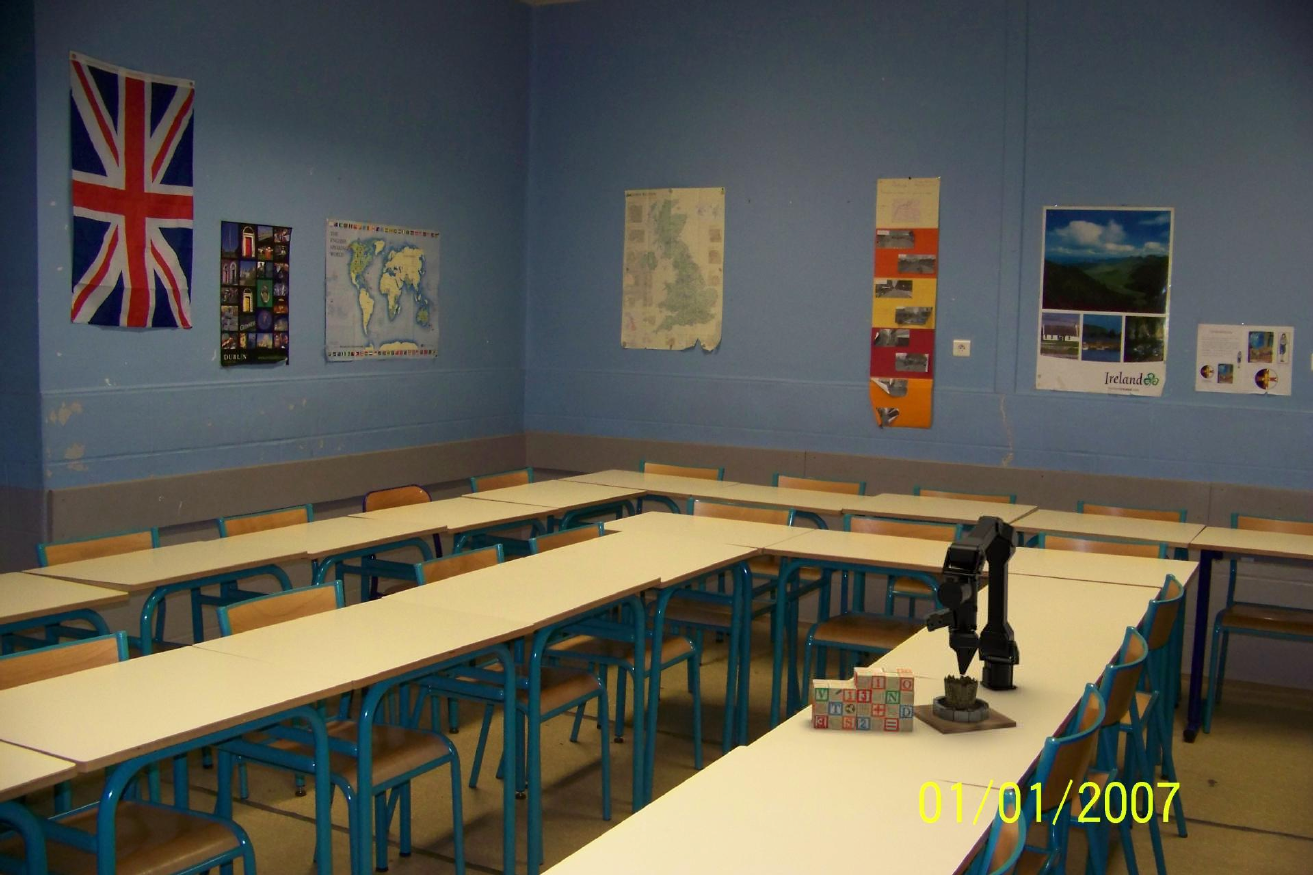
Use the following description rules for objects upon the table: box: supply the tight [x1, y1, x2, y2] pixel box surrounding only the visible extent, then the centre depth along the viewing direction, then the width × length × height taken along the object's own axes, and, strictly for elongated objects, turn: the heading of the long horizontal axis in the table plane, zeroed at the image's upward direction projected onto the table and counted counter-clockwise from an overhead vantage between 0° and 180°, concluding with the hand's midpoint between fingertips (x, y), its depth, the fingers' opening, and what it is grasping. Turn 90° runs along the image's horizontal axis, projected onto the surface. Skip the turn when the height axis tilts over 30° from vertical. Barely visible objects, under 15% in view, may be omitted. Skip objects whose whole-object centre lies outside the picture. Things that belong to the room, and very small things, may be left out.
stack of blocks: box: [811, 666, 915, 733], centre depth 257 cm, size 21×6×12 cm, turn 86°
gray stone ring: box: [932, 694, 990, 723], centre depth 262 cm, size 12×12×2 cm
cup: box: [943, 674, 979, 711], centre depth 262 cm, size 8×7×8 cm
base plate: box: [913, 703, 1017, 735], centre depth 263 cm, size 18×16×1 cm
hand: (961, 668), depth 262 cm, fingers open, 9 cm apart
